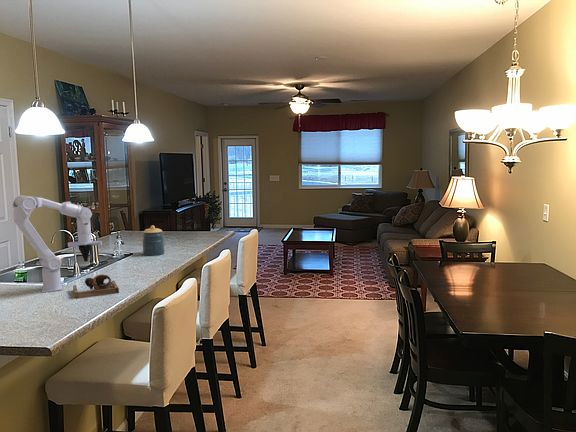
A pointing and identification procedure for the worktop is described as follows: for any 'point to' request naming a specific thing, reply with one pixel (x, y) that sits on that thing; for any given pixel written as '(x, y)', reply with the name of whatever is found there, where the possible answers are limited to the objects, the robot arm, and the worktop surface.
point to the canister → (153, 242)
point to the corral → (96, 291)
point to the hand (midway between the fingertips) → (86, 261)
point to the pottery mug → (98, 282)
